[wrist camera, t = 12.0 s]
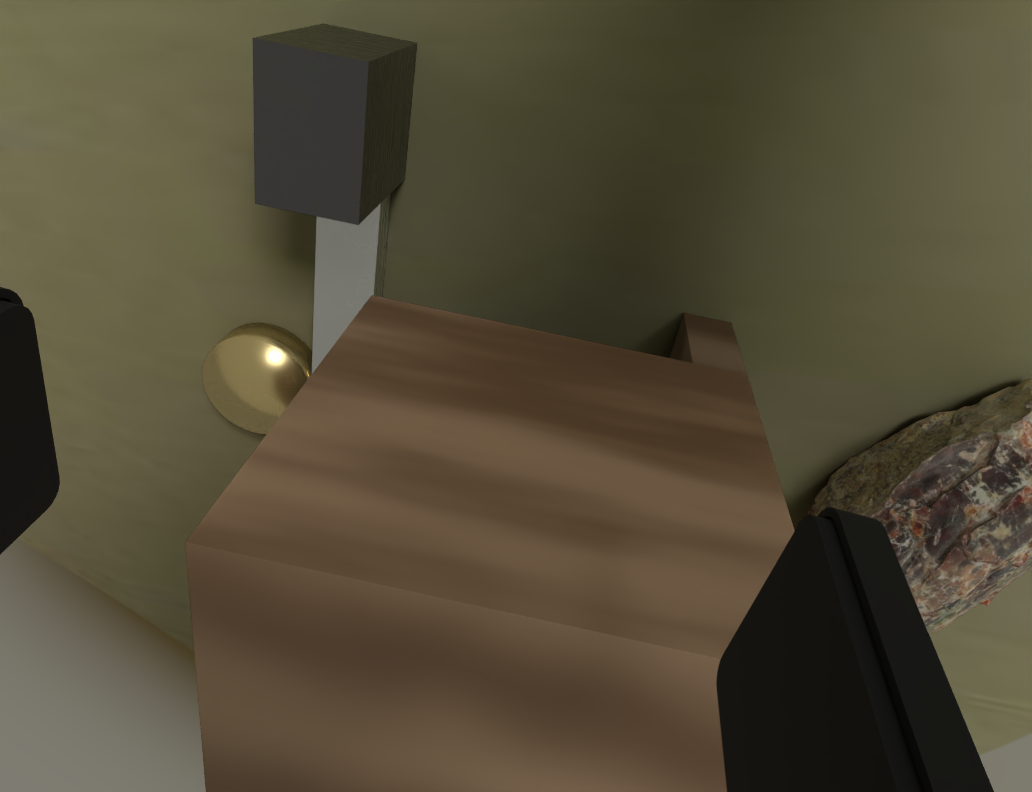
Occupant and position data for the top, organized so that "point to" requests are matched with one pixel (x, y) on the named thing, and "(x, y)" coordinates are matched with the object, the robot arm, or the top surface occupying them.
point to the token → (256, 374)
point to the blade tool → (334, 153)
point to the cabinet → (485, 564)
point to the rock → (950, 501)
